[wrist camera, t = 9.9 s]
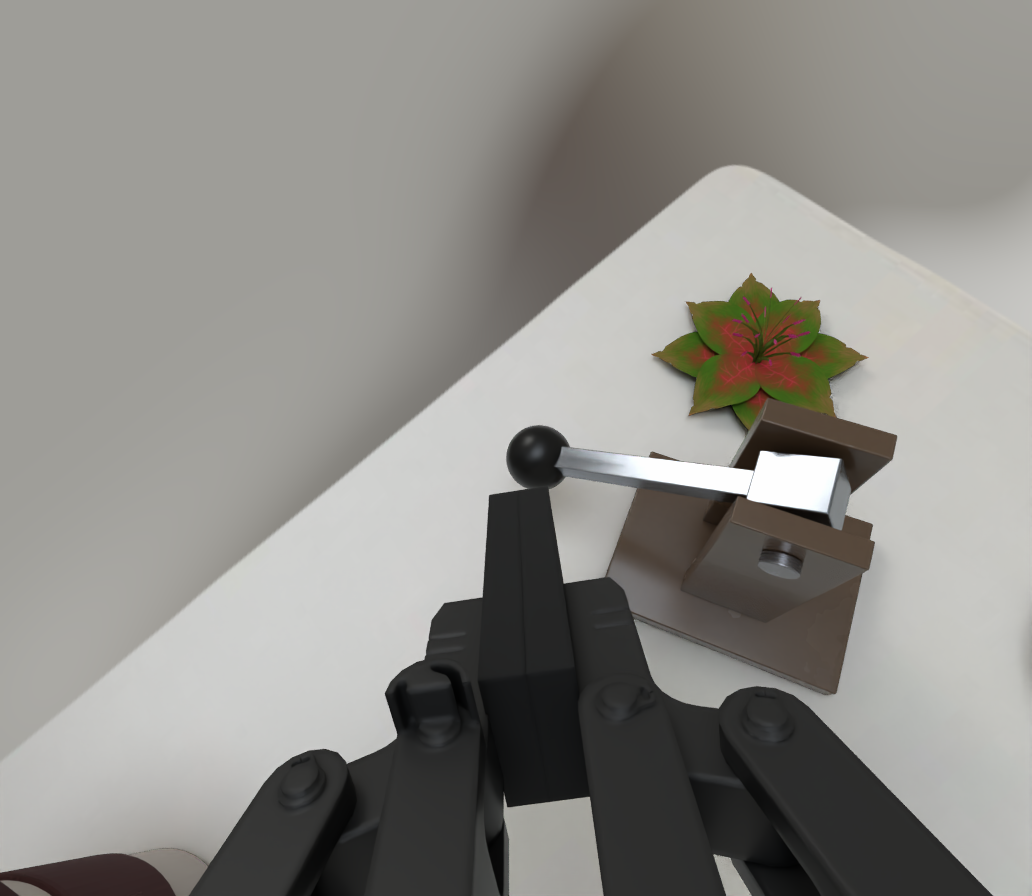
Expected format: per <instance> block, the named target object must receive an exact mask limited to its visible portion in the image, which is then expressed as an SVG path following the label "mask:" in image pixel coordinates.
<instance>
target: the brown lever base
mask: <svg viewBox="0 0 1032 896" xmlns="http://www.w3.org/2000/svg"><path fill="white" fill-rule="evenodd" d="M896 441H897V435H894V434H891V433H887V432H884V431H880V430H877V429H874V428H870V427H867V426H863V425H860V424H856V423H853V422H850V421H846V420H843V419H839V418H836V417H832V416H829V415H826V414H822V413H819V412H815V411H812V410H809V409H805V408H802V407H798V406H795V405H791V404H788V403H785V402H781V401H778V400H774V399H771V398H767V400H766V401H765V403H764V405H763V407H762V409H761V410H760V412H759V414H758V416H757V417H756V419H755V421H754V423H753V425H752V426H751V428H750V430H749V432H748V433H747V435H746V437H745V439H744V441H743V442H742V444H741V446H740V448H739V449H738V451H737V453H736V455H735V457H734V458H733V460H732V462H731V464H730V465H729V467H730V468H739V469H747V470H754V469H755V465H756V462H757V459H758V455H759V452H760V450H767V451H777V452H787V453H797V454H806V455H816V456H826V457H836V458H842V460H843V463H844V466H845V470H846V473H847V477H848V480H849V484H850V487H851V493H850V495H851V494H852V493H853V492H854V491H856V490H857V489H858V488H859V487H860V486H862V485H863V484H864V483H865V482H866V481H868V480H869V479H870V478H871V477H872V476H873V475H875V474H876V473H877V472H878V471H879V470H881V469H882V468H883V467H884V466H885V465H887V464H888V463H889V462H890V461H891V460H892V459H893V455H894V450H895V445H896ZM649 457H650V458H658V459H666V460H674V461H679V460H676V459H673V458H670V457H667V456H664V455H661V454H658V453H655V452H651V453H650V456H649ZM872 527H873V524H871V523H867V522H864V521H861V520H858V519H855V518H852V517H849V516H846V515H845V518H844V523H843V527H842V531H841V530H838V529H835V528H832V527H829V526H826V525H823V524H820V523H817V522H814V521H812V520H809V519H806V518H803V517H800V516H797V515H794V514H791V513H788V512H785V511H782V510H779V509H776V508H773V507H770V506H767V505H764V504H761V503H758V502H755V501H752V500H749V499H746V498H743V497H740V496H738V497H737V498H736V499H735V501H734V502H733V503H727V502H721V501H715V500H708V499H702V498H696V497H690V496H684V495H678V494H671V493H665V492H659V491H653V490H647V489H640V488H637V491H636V494H635V497H634V499H633V502H632V505H631V507H630V510H629V513H628V516H627V518H626V521H625V524H624V527H623V529H622V532H621V535H620V538H619V540H618V543H617V546H616V548H615V551H614V554H613V557H612V559H611V562H610V565H609V568H608V570H607V573H606V576H605V578H606V577H611V578H612V579H613V580H614V581H615V582H616V583H617V584H618V585H619V586H621V587H622V588H623V589H624V591H625V594H626V597H627V600H628V603H629V607H630V610H631V613H632V616H633V618H635V619H637V620H640V621H642V622H645V623H647V624H650V625H652V626H655V627H657V628H660V629H662V630H665V631H667V632H670V633H672V634H675V635H677V636H680V637H682V638H685V639H687V640H690V641H692V642H695V643H697V644H700V645H702V646H705V647H707V648H710V649H712V650H715V651H717V652H720V653H722V654H725V655H727V656H730V657H732V658H734V659H737V660H739V661H742V662H744V663H747V664H749V665H752V666H754V667H757V668H759V669H762V670H764V671H767V672H769V673H772V674H774V675H777V676H779V677H782V678H784V679H787V680H789V681H792V682H794V683H797V684H799V685H802V686H804V687H807V688H809V689H812V690H814V691H817V692H819V693H822V694H824V695H831V694H836V693H837V688H838V684H839V679H840V674H841V670H842V665H843V661H844V656H845V651H846V647H847V642H848V638H849V633H850V628H851V624H852V619H853V615H854V610H855V605H856V601H857V596H858V592H859V587H860V582H861V578H862V573H864V572H865V571H867V570H869V568H870V563H871V558H872V554H873V549H874V544H875V542H874V541H871V540H870V536H871V532H872Z"/></svg>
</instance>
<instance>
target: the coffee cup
mask: <svg viewBox="0 0 1032 896" xmlns="http://www.w3.org/2000/svg"><path fill="white" fill-rule="evenodd" d="M207 868H208V866H207V865H206V864H205V863H204V862H203V861H201V860H200V859H199V858H198V857H196V856H194V855H192V854H190V853H188V852H186V851H182V850H178V849H172V848H162V849H155V850H149V851H144V852H139V853H134V854H129V855H126V854H102V855H95V856H90V857H84V858H79V859H73V860H68V861H62V862H57V863H51V864H46V865H40V866H35V867H29V868H24V869H19V870H13V871H8V872H2V873H0V896H189V894H190V893H191V891H192V890H193V888H194V887H195V885H196V884H197V883H198V881H199V880H200V878H201V877H202V875H203V874H204V872H205V871H206V869H207Z"/></svg>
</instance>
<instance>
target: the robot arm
mask: <svg viewBox="0 0 1032 896" xmlns="http://www.w3.org/2000/svg"><path fill="white" fill-rule="evenodd" d="M385 696H386V699H387V702H388V705H389V709H390V712H391V715H392V718H393V722H394V725H395V728H396V731H397V734H398V735H397V739H396V740H394V741H393V742H392V743H390V744H389V745H387V746H386V747H384V748H382V749H380V750H378V751H376V752H374V753H372V754H370V755H367V756H365V757H363V758H360V759H358V760H355V761H353V762H350V763H348V764H346V761H345V760H344V759H343V758H342V757H341V756H340V755H339V754H338V753H337V752H334V751H330V750H327V749H320V750H311V751H307V752H305V753H302V754H300V755H297V756H295V757H292V758H291V759H290V760H288V761H287V762H285V763H284V764H283V765H281V766H280V767H278V768H277V769H276V770H275V771H274V772H273V773H272V775H271V776H270V777H269V778H268V779H267V780H266V781H265V783H264V784H263V785H262V787H261V788H260V790H259V791H258V793H257V794H256V796H255V797H254V799H253V800H252V802H251V803H250V805H249V806H248V808H247V809H246V811H245V812H244V814H243V815H242V817H241V818H240V820H239V821H238V823H237V824H236V826H235V827H234V829H233V830H232V832H231V833H230V835H229V836H228V838H227V839H226V841H225V842H224V844H223V845H222V847H221V848H220V850H219V851H218V853H217V854H216V856H215V857H214V859H213V860H212V862H211V863H210V865H209V866H208V868H207V869H206V871H205V872H204V874H203V875H202V877H201V878H200V880H199V881H198V883H197V884H196V885H195V887H194V888H193V890H192V891H191V893H190V894H189V896H509V838H508V834H507V829H506V825H505V821H504V817H503V809H504V794H505V799H506V803H507V807H515V806H522V805H530V804H537V803H545V802H552V801H560V800H568V799H575V798H583V797H590V800H591V807H592V815H593V822H594V829H595V836H596V844H597V851H598V858H599V865H600V872H601V880H602V887H603V894H604V896H726V894H725V891H724V887H723V884H722V881H721V878H720V875H719V872H718V869H717V865H716V862H715V859H714V856H713V854H715V855H720V856H724V857H729V858H731V861H732V863H733V865H734V867H735V868H736V870H737V872H738V873H739V875H740V877H741V878H742V880H743V882H744V883H745V885H746V886H747V888H748V890H749V891H750V893H751V895H752V896H993V895H992V894H991V893H990V892H989V891H988V890H987V889H986V888H985V887H984V886H983V885H982V884H981V883H980V882H979V881H978V880H977V879H976V878H975V877H974V876H973V875H972V874H971V873H970V872H969V871H968V870H967V869H966V868H965V867H964V866H963V865H962V864H961V863H960V862H959V861H958V860H957V859H956V858H955V856H954V855H953V854H952V853H951V852H950V851H949V850H948V849H947V848H946V847H945V846H944V845H943V844H942V843H941V842H940V841H939V840H938V839H937V838H936V837H935V836H934V835H933V834H932V833H931V832H930V831H929V830H928V829H927V828H926V827H925V826H924V825H923V824H922V823H921V822H920V821H919V820H918V819H917V818H916V817H915V815H914V814H913V813H912V812H911V811H910V810H909V809H908V808H907V807H906V806H905V805H904V804H903V803H902V802H901V801H900V800H899V799H898V798H897V797H896V796H895V795H894V794H893V793H892V792H891V791H890V790H889V789H888V788H887V787H886V786H885V785H884V784H883V783H882V782H881V781H880V780H879V779H878V778H877V777H876V776H875V774H874V773H873V772H872V771H871V770H870V769H869V768H868V767H867V766H866V765H865V764H864V763H863V762H862V761H861V760H860V759H859V758H858V757H857V756H856V755H855V754H854V753H853V752H852V751H851V750H850V749H849V748H848V747H847V746H846V745H845V744H844V743H843V742H842V741H841V740H840V739H839V738H838V737H837V736H836V734H835V733H834V732H833V731H832V730H831V729H830V728H829V727H828V726H827V725H826V724H825V723H824V722H823V721H822V720H821V719H820V718H819V717H818V716H817V715H816V714H815V713H814V712H813V711H812V710H811V709H810V708H809V707H808V706H807V705H806V704H804V703H803V702H802V701H800V700H799V699H798V698H796V697H795V696H794V695H791V694H789V693H786V692H783V691H781V690H778V689H776V688H767V687H758V686H756V687H750V688H744V689H740V690H738V691H736V692H734V693H733V694H731V695H729V696H727V697H726V699H725V700H724V702H723V703H722V705H721V706H720V708H719V709H717V708H709V707H701V706H695V705H691V704H686V703H683V702H680V701H678V700H676V699H673V698H671V697H670V696H668V695H667V694H665V693H664V692H662V691H661V689H660V688H659V687H658V686H657V685H656V684H655V683H654V681H653V679H652V677H651V674H650V671H649V668H648V665H647V662H646V658H645V655H644V652H643V649H642V645H641V642H640V639H639V636H638V633H637V629H636V626H635V624H634V620H633V616H632V613H631V610H630V607H629V603H628V600H627V597H626V594H625V591H624V589H623V588H622V587H621V586H619V585H618V584H617V583H616V582H615V581H614V580H613V579H612V578H611V577H606V578H599V579H592V580H586V581H579V582H572V583H565V584H564V583H563V577H562V571H561V564H560V558H559V552H558V546H557V540H556V533H555V527H554V521H553V515H552V509H551V503H550V496H549V490H548V486H544V487H538V488H531V489H525V490H519V491H512V492H506V493H499V494H493V495H489V508H488V523H487V539H486V554H485V570H484V586H483V598H476V599H469V600H463V601H456V602H449V603H444V604H443V606H442V607H441V608H440V610H439V611H438V612H437V614H436V615H435V616H434V618H433V619H432V622H431V628H430V633H429V641H428V644H427V649H426V656H425V660H423V661H419V662H416V663H414V664H413V665H411V666H409V667H407V668H405V669H404V670H402V671H401V672H400V673H399V674H398V675H397V676H396V677H395V678H394V679H393V680H392V681H391V682H390V684H389V686H388V688H387V690H386V692H385Z"/></svg>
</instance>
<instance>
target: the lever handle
mask: <svg viewBox="0 0 1032 896" xmlns="http://www.w3.org/2000/svg"><path fill="white" fill-rule="evenodd" d="M506 461H507V466H508V470H509V472H510V474H511V476H512V477H513V478H514V480H515V481H516V482H517V483H519V484H520V485H521V486H523V487H525V488H527V489H531V488H538V487H544V486H548V489H551V488H553V487H555V486H557V485H558V484H560V483H561V482H562V481H563V480H564V479H565V477H572V478H579V479H585V480H591V481H597V482H603V483H610V484H616V485H622V486H628V487H634V488H640V489H647V490H653V491H659V492H665V493H671V494H678V495H684V496H690V497H696V498H702V499H708V500H715V501H721V502H727V503H733V502H734V501H735V499H736V498H737V497H738V496H740V497H743V498H746V499H749V500H752V501H755V502H758V503H761V504H764V505H767V506H770V507H773V508H776V509H779V510H782V511H785V512H788V513H791V514H794V515H797V516H800V517H803V518H806V519H809V520H812V521H814V522H817V523H820V524H823V525H826V526H829V527H832V528H835V529H838V530H841V531H842V527H843V523H844V518H845V514H846V510H847V506H848V501H849V497H850V493H851V487H850V484H849V480H848V477H847V473H846V470H845V466H844V463H843V460H842V458H836V457H826V456H816V455H806V454H797V453H787V452H777V451H767V450H760V452H759V455H758V459H757V462H756V465H755V469H754V470H747V469H739V468H730V467H722V466H714V465H706V464H698V463H690V462H682V461H674V460H666V459H658V458H650V457H642V456H634V455H626V454H618V453H610V452H602V451H594V450H586V449H578V448H570V446H569V444H568V442H567V440H566V439H565V438H564V436H563V435H562V434H561V433H559V432H558V431H557V430H555V429H553V428H551V427H548V426H542V425H536V426H530V427H528V428H525V429H523V430H521V431H520V432H519V433H517V434H516V435H515V436H514V438H513V439H512V440H511V442H510V444H509V447H508V450H507V456H506Z"/></svg>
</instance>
